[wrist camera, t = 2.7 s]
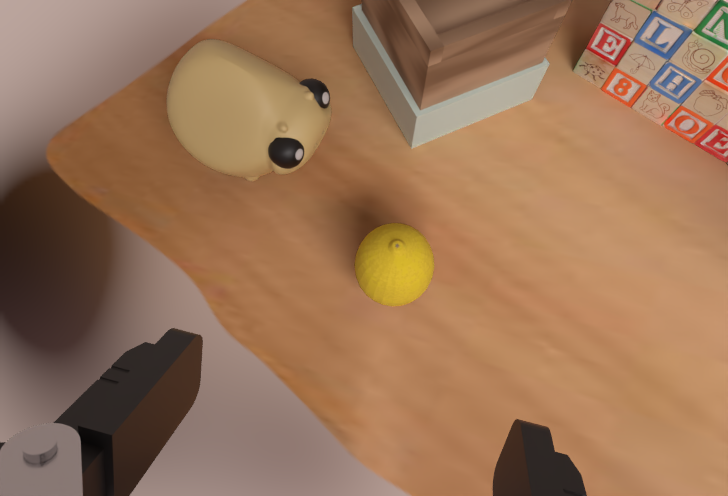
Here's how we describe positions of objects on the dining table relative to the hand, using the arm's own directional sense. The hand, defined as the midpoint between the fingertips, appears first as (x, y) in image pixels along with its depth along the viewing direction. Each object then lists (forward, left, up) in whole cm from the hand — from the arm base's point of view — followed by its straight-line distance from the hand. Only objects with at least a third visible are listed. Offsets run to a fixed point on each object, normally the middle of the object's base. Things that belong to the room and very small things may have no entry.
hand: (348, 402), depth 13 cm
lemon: (+8, -7, -25) cm, 27 cm away
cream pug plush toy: (+23, -2, -25) cm, 34 cm away
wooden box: (+24, -20, -20) cm, 37 cm away
